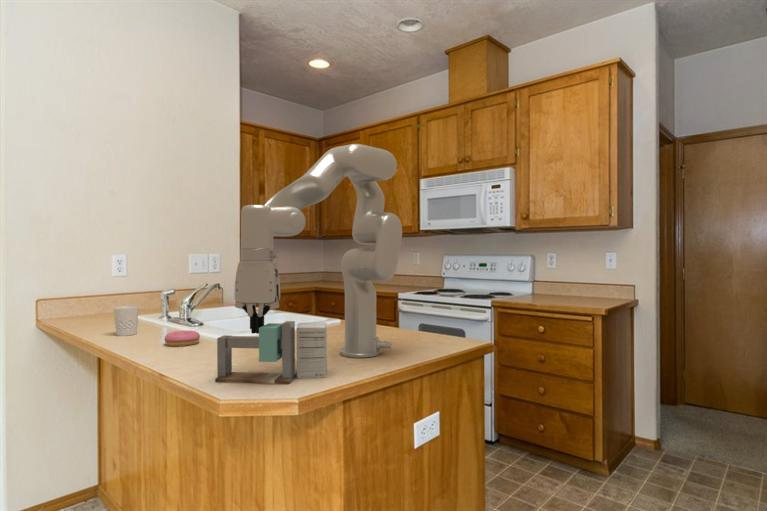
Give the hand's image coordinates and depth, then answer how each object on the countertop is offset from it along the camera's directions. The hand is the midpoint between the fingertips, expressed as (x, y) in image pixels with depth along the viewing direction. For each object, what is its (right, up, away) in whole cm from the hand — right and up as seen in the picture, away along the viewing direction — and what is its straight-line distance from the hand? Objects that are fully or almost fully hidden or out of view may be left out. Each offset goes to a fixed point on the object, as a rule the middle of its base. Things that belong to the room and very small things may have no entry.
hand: (257, 332), depth 114 cm
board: (0, -12, 0) cm, 12 cm away
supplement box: (+13, -12, +5) cm, 18 cm away
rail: (0, -12, 0) cm, 12 cm away
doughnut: (-36, -11, +43) cm, 57 cm away
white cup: (-64, -11, +59) cm, 88 cm away
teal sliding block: (+4, -3, -1) cm, 5 cm away
